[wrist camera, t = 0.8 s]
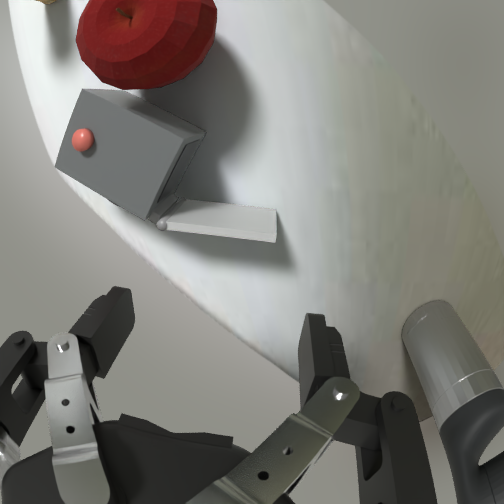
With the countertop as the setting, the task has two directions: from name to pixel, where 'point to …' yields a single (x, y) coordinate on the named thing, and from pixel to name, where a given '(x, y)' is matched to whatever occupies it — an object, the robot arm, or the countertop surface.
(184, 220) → the side door
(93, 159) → the grey box with button
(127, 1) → the apple
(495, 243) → the countertop surface
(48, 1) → the sprinkles bottle
